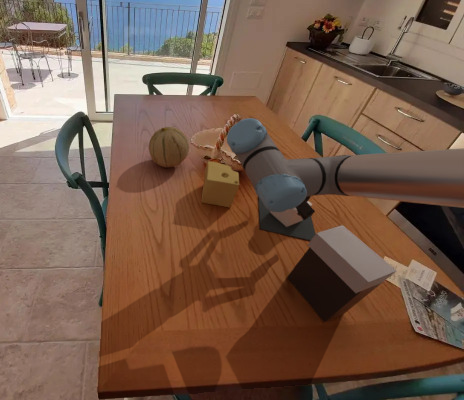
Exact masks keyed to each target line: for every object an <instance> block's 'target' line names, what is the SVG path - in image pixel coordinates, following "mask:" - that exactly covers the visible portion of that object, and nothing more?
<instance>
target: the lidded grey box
mask: <svg viewBox="0 0 464 400" xmlns="http://www.w3.org/2000/svg"><path fill="white" fill-rule="evenodd" d="M307 246H308V248H307V250H306V251H305V252H304V254H303V255H302V257H301V258H300V259H299V261H298V262H297V263H296V264H295V265H294V267H293V268H292V270H291V271H290V273H289V274H288V275H287V277H286V278H287V280H288V281H289V282H290V283H291V285H293V287H294V288H295V289H296V291H297V292H298V293H299V294H300V295H301V296H302V298H303V299H304V300H305V302H307V304H308V305H309V307H311V309H312V310H313V311H314V312H315V313H316V315H317V316H318V317H319V318H320V319H321V320H322V322H323V323H326V322H329V321H331V320H333V319H336V318H338V317H340V316H343V315H345V314H346V313H347V312H348V311H349V310H350V309H352V308H353V307H354V306H355V305H357V304H358V303H359V302H360V301H362V300H363V299H364V298H366V297H367V296H368V295H369V294H370V293H372V292H373V291H374V290H375V289H376V288H378V287H379V286H380V285H381V284H383V283H384V282H385V281H386V280H388V279H389V278H390V277H391V276H393V275H394V274H395V273H396V272H397V271H398V270H396V268H394V267H393V266H392V265H391V264H389V263H388V262H387V261H386V260H385V259H384V258H382V257H381V256H380V255H379V254H378V253H377V252H376V251H374V250H373V249H372V248H371V247H370V246H368V245H367V244H366V243H365V242H364V241H362V240H361V239H360V238H359V237H357V236H356V235H355V234H354V233H353V232H351V231H350V230H349V229H348V228H347V227H345V225H343V224H341V225H338V226H335V227H332V228H331V227H330V228H328V229H325V230H322V231H319V232H318V231H317V232H315V235H314V237H313V238H312V240H311V241H309V242H308V244H307Z"/></svg>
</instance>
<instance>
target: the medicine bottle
mask: <svg viewBox="0 0 464 400" xmlns="http://www.w3.org/2000/svg"><path fill="white" fill-rule="evenodd" d="M311 197H312V196H306V198H305V200H306V202H307V203H308V204H309V205H310V206H311V207H312V208H313V203H312V202H310V201H309V200H311ZM270 213H271V214H272V215H273V216H274V217H276V218H277V219H278V220H279V221H280V222H281V223H282V224H284V225H285V226H286V227H288V226H290V225H293V224H295V223H298V222H300V221H302V220H303V219H302V217H301V216H299V215H298V214H297V213H298V212H297V209H296V208H293V209H288V210H286V211H284V212H272V211H270Z"/></svg>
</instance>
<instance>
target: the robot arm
mask: <svg viewBox="0 0 464 400" xmlns="http://www.w3.org/2000/svg"><path fill="white" fill-rule="evenodd" d="M226 143H227V145H228V146H229V148H230V151H231V152H232V153H233V154H234V155H235V156H236V158H237V159H238V162H239V163H240V165H241V167H242V169H243V170H244V172H245V173H246V176H247V178H248V180H249V181H250V184H251V185H252V187H253V190H254V191H255V195H256V196H257V198H258V197H259V198H260V199H261V201H262V202H263V204H264V205H265V207H266V208H267V209H268V210H270V211H272V212H284V211H286V210H288V209H293V208H296V209H297V212H298V213H297V214H298V215H299V216H301V217H302V219H303V220H306V219H307V218H308V217H310V216H311V217H312V216H313V214H315V212H316V211H315V209H314V208H313V206H312V207H311V206H310V205H309V204H308V203H307V202H306V200H305V198H306V196H311V197H313V196H326V195H329V196H330V195H332V196H343V197H344V196H345V197H357V198H367V199H375V200H386V201H397V202H403V203H404V202H405V203H413V204H425V205H432V206H433V205H434V206H441V207H442V206H443V207H454V208H462V209H464V148H447V149H431V150H416V151H399V152H383V153H382V152H381V153H367V154H364V153H363V154H355V155H354V154H353V155H351V154H341V155H334V156H319V157H305V158H291V159H290V158H289V159H288V158H286V157H285V156H284V154H283V153H282V152H281V150H280V148H278V146H277V144H276V143H275V142H274V141H273V139H272V136H270V134H269V133H268V130H267V128H266V127H265V126H264V124H263V123H262V122H261V121H260V120H258V119H257V118H253V117H247V118H243V119H240V120H239V121H238V122H236V123H234V124H233V126H231V127H230V128H229V130H228V132H227V136H226Z"/></svg>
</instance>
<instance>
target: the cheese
mask: <svg viewBox="0 0 464 400" xmlns="http://www.w3.org/2000/svg"><path fill="white" fill-rule="evenodd" d="M239 175H240V174H239V172H238V171H234V169H232V166H230V165H227V164H224V163H219V162H216V161H210V160H209V161H207V163H206V165H205V169H204V178H203V185H202V190H201V200H200V202H201V203H202V204H208V205H213V206H220V207H224V208H229V209H231V208H232V206H233V203H234V201H235V198H236V196H237V193H238V191H239V187H240V176H239Z"/></svg>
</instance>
